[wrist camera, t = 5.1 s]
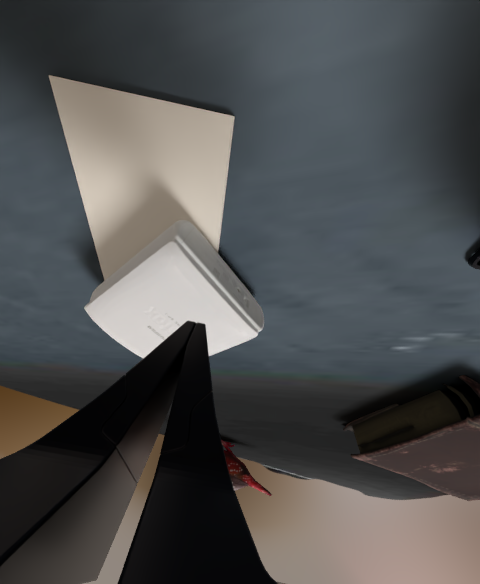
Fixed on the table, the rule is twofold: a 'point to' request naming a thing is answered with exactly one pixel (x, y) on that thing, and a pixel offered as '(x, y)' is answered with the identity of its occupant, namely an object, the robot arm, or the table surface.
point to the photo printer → (175, 295)
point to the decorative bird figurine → (240, 471)
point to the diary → (427, 440)
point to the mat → (143, 166)
